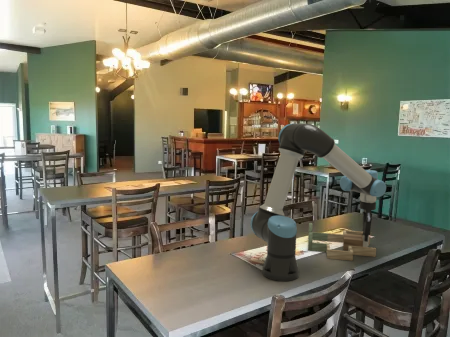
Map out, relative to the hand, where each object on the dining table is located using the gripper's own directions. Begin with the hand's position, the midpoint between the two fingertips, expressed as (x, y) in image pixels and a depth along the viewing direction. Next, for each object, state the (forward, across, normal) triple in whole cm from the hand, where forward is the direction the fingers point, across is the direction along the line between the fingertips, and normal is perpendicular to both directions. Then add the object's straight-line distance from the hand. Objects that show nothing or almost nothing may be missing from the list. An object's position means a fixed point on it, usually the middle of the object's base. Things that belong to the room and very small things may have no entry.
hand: (365, 246), depth 181 cm
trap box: (+1, 0, +12) cm, 12 cm away
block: (+1, 0, +6) cm, 6 cm away
